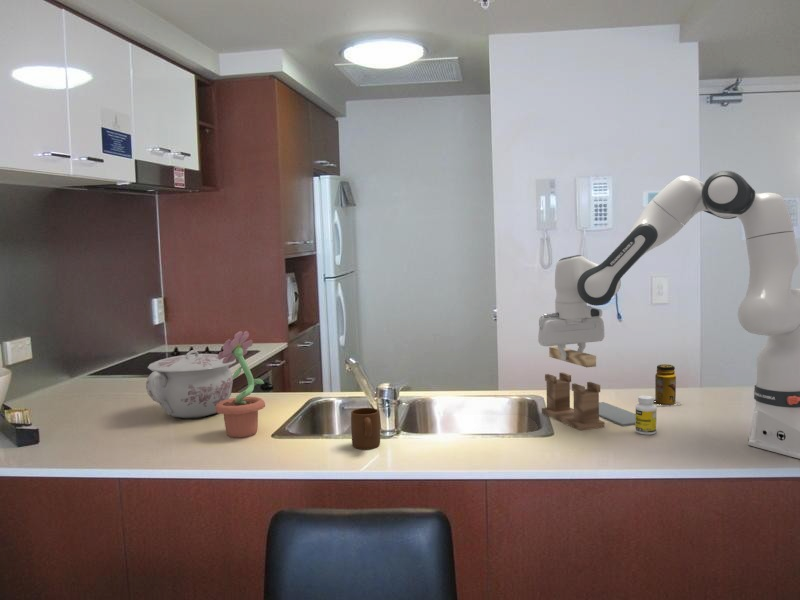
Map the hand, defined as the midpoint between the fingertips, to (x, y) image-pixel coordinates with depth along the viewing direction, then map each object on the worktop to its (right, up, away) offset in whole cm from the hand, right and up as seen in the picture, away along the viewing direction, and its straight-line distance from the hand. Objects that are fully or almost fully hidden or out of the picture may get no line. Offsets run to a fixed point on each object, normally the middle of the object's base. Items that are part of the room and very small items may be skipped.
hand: (571, 359), depth 208 cm
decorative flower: (-95, -22, -2) cm, 97 cm away
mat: (+14, -17, +6) cm, 23 cm away
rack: (0, -18, +2) cm, 18 cm away
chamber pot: (-116, -20, +23) cm, 120 cm away
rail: (0, +1, 0) cm, 1 cm away
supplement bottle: (+17, -19, -13) cm, 29 cm away
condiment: (+33, -16, +18) cm, 41 cm away
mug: (-59, -22, -19) cm, 65 cm away
